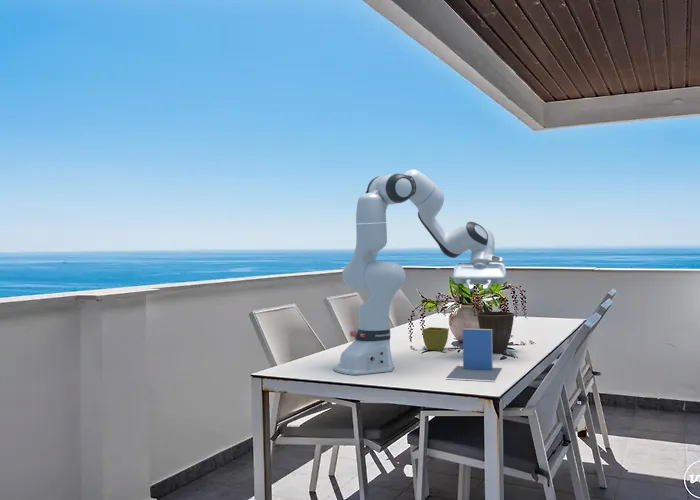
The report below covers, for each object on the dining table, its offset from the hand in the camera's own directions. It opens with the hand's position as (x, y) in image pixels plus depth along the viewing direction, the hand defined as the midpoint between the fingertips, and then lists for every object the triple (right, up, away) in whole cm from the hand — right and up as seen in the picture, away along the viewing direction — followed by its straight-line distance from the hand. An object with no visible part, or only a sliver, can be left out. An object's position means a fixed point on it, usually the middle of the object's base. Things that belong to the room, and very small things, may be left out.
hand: (478, 290), depth 244 cm
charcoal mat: (-5, -28, -21) cm, 35 cm away
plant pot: (+12, -27, +25) cm, 39 cm away
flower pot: (-12, -28, +32) cm, 44 cm away
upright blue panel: (-3, -27, -14) cm, 30 cm away
